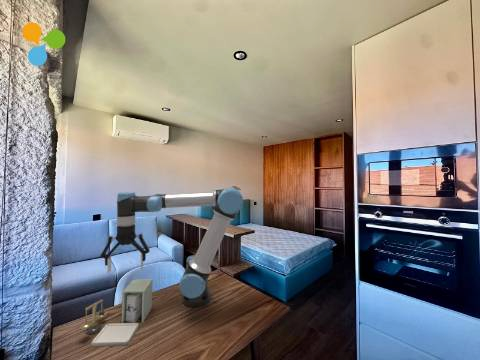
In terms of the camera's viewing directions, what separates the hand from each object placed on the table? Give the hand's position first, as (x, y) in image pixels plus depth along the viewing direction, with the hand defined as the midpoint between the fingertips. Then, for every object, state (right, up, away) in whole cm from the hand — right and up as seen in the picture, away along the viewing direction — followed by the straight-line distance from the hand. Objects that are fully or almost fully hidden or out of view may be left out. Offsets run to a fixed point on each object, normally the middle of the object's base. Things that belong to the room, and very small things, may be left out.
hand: (125, 270), depth 95 cm
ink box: (+5, -22, 0) cm, 23 cm away
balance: (-8, -21, -10) cm, 25 cm away
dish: (+3, -22, -12) cm, 25 cm away
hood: (+5, -22, +1) cm, 22 cm away
